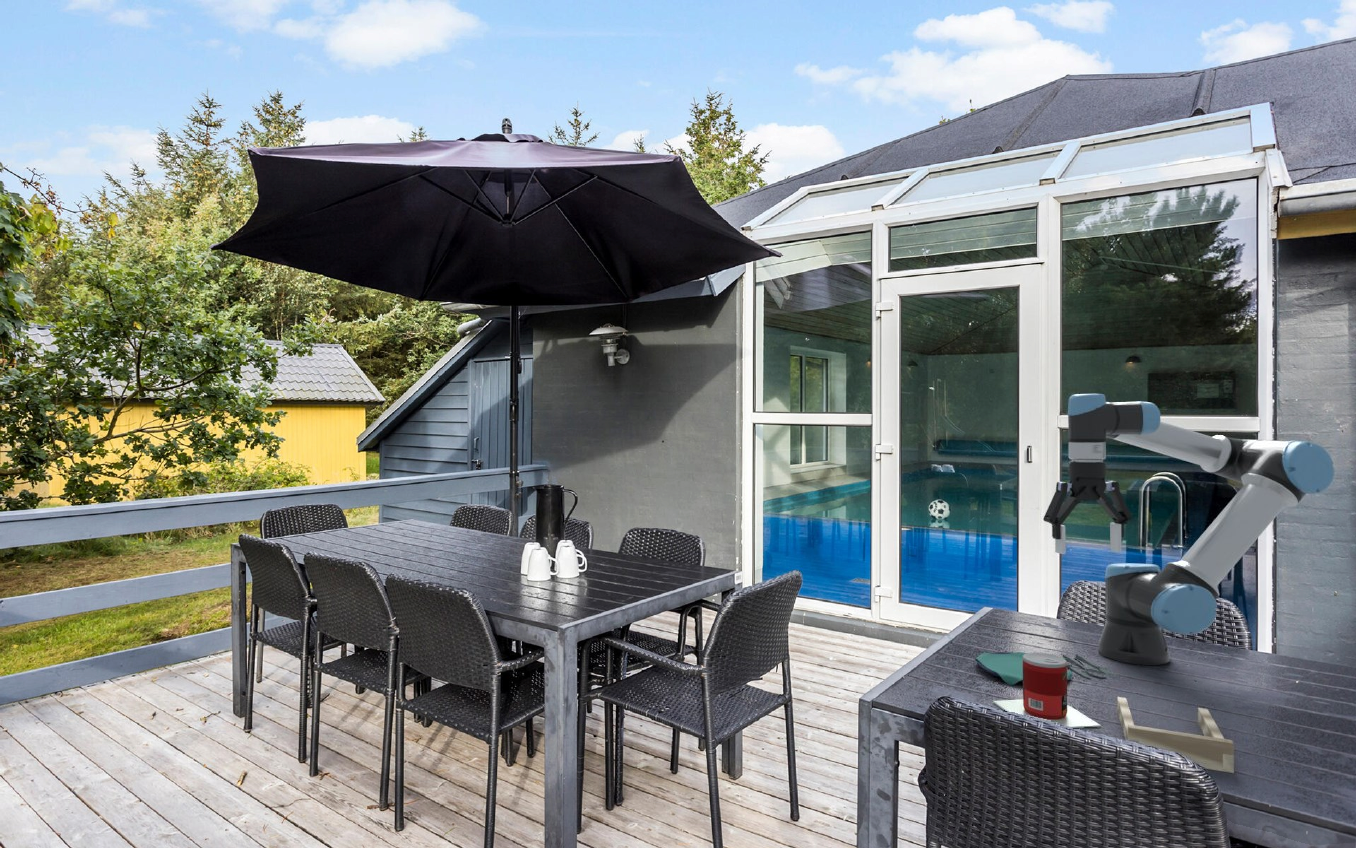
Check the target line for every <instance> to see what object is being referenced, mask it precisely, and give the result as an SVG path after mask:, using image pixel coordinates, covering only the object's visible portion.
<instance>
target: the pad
mask: <svg viewBox="0 0 1356 848" xmlns="http://www.w3.org/2000/svg"><path fill="white" fill-rule="evenodd" d="M993 704H994V705H995V706H998V708H1000V709H1001V710H1002V711H1004V710H1005V711H1009V712H1015V713H1018V714H1022V715H1030V714H1029V713H1027V712H1026V711H1025V709H1024V706H1023V698H1022V699H1021V698H1020V699H1004V700H1003V699H1002V700H993ZM1005 711H1004V712H1005ZM1030 716H1033V715H1030ZM1034 717H1035V716H1034ZM1038 718H1039V717H1038ZM1047 720H1051V719H1047ZM1051 722H1058V723H1059V724H1065V725H1066V726H1069V727H1077V728H1079V729H1085V728H1084V727H1097V728H1101V724H1099V723H1098V722H1096V721H1094V720H1093V719H1091V718H1090V717H1088V716H1087V715H1084V713H1081V712H1080V711H1079V710H1077V709H1075V708H1074V707H1072V706H1070V705H1069V704H1067V714H1066V717H1064V718H1062V719H1057V720H1051Z"/></svg>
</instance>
